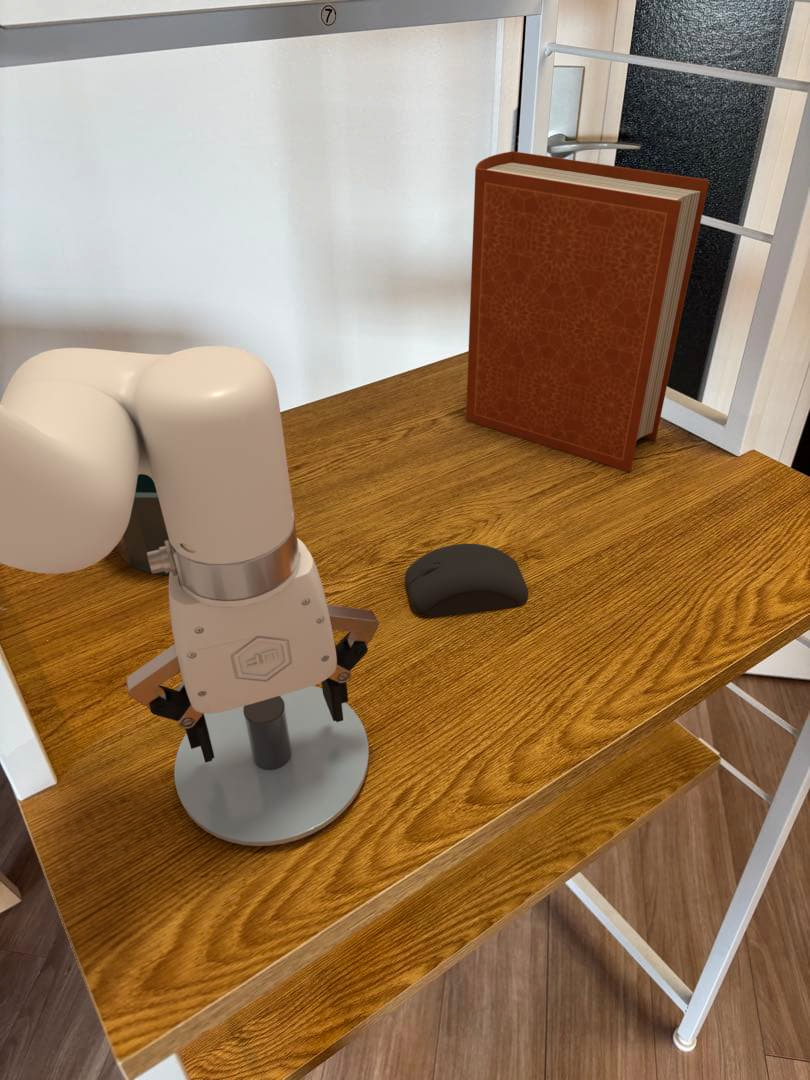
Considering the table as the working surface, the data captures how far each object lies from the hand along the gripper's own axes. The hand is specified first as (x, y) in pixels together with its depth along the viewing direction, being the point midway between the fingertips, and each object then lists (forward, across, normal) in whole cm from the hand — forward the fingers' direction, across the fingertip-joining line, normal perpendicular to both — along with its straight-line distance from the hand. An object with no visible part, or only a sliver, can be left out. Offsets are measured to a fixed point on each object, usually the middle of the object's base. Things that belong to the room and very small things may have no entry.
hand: (271, 726), depth 62 cm
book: (+5, +44, +36) cm, 57 cm away
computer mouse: (+5, +22, +13) cm, 26 cm away
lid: (+4, 0, 0) cm, 4 cm away
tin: (+4, -2, +32) cm, 32 cm away
